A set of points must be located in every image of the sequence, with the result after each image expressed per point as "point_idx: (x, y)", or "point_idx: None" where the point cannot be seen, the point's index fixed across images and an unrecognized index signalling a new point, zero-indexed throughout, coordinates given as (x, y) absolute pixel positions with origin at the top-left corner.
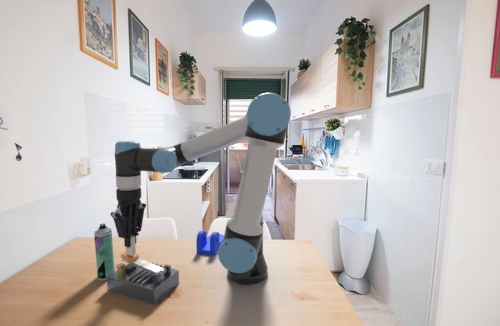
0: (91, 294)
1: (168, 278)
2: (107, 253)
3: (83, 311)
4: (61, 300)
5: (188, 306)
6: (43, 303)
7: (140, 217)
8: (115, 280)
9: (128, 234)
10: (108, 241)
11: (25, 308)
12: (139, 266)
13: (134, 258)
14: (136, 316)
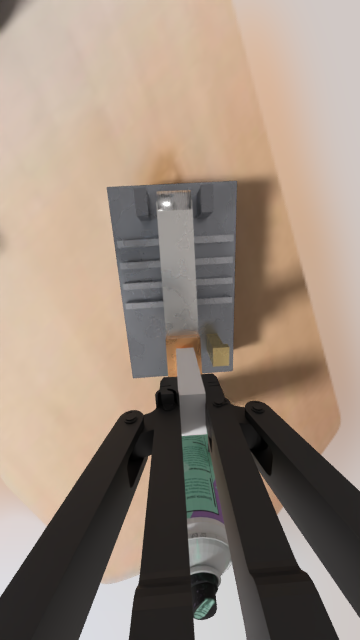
0: (244, 370)
1: (165, 184)
2: (196, 442)
3: (290, 334)
4: (277, 401)
5: (190, 86)
6: (293, 419)
7: (85, 533)
8: (232, 338)
9: (234, 414)
10: (195, 484)
11: (311, 430)
12: (196, 297)
13: (187, 336)
14: (269, 209)
